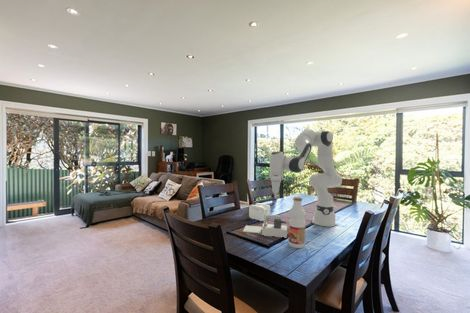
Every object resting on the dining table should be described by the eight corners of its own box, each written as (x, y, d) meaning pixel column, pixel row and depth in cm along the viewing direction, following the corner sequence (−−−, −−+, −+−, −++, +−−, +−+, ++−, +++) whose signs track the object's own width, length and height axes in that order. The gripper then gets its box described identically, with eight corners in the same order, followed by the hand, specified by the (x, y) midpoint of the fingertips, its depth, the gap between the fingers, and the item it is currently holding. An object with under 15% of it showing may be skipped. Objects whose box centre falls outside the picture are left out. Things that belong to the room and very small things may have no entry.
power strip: (262, 230, 155) (263, 222, 155) (286, 232, 151) (286, 224, 151) (261, 235, 146) (261, 227, 146) (286, 237, 143) (287, 229, 142)
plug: (274, 229, 151) (274, 218, 151) (285, 230, 149) (285, 219, 149) (273, 231, 146) (274, 220, 146) (285, 233, 145) (286, 221, 145)
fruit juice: (306, 249, 127) (307, 200, 126) (289, 248, 127) (291, 199, 127) (302, 242, 136) (303, 196, 136) (287, 241, 137) (288, 196, 136)
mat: (245, 226, 163) (245, 225, 163) (262, 227, 160) (262, 226, 160) (242, 232, 151) (242, 231, 151) (260, 233, 149) (260, 232, 149)
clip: (263, 224, 151) (264, 214, 151) (280, 226, 149) (280, 215, 149) (263, 225, 149) (263, 215, 149) (280, 227, 147) (280, 216, 146)
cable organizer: (270, 219, 181) (271, 205, 180) (263, 222, 173) (263, 207, 173) (256, 215, 191) (256, 202, 190) (248, 218, 183) (248, 204, 183)
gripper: (272, 174, 155) (271, 194, 155) (270, 178, 135) (270, 200, 135) (281, 175, 154) (280, 195, 154) (281, 178, 134) (280, 201, 134)
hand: (275, 197), depth 145 cm, fingers closed
